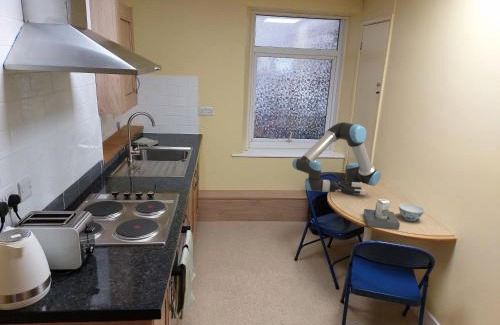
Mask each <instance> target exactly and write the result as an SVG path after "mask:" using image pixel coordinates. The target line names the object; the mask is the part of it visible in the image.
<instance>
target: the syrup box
mask: <svg viewBox="0 0 500 325" xmlns="http://www.w3.org/2000/svg"><path fill="white" fill-rule="evenodd" d="M375 204H376V205H375V209H374V210H375V215H374V216H375V218H381V219H388V213H389V211H390V206H391V201H389V200H388V199H386V198H379V199H376V203H375Z"/></svg>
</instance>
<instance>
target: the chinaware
mask: <svg viewBox="0 0 500 325" xmlns="http://www.w3.org/2000/svg"><path fill="white" fill-rule="evenodd" d="M398 210H399V213H400V215H401V216H403V219H405V221H410V222H414V221H416V220H417V219H419V218H420V217H422V216H423V214H424V213H425V209H424V207H422V206H420V205H417V204H414V203H408V202H407V203H405V202H404V203H400V204H398Z"/></svg>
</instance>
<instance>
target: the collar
mask: <svg viewBox="0 0 500 325" xmlns="http://www.w3.org/2000/svg"><path fill="white" fill-rule="evenodd" d="M374 215H375V209H368V208H364V210H363V217H364V220H365V222H366V225H367V226H368V227H371V228H381V229H392V230H399V229H400V225H401V223H400V221H399V219H398V217H397V216H396V215H395V213H394V212H393V211H390V210H389V213H388V219H381V218H375V216H374Z"/></svg>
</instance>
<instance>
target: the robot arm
mask: <svg viewBox="0 0 500 325" xmlns="http://www.w3.org/2000/svg"><path fill="white" fill-rule="evenodd" d="M366 139H367V130H366V128H365V127H364V126H363V125H361V124H355V123H349V122H345V121H344V122H338V123H335V124H334V125H332V126H331V127H328V129H327V130H326V131H325V134H324V135H323V136H321V137H320V139H319V140H317V141H316V142H315V143H314V145H313V146H311V147H310V149H308V150H306V152H305V153H304V154H303V155H302V156H301V157H300V158H299V157H296V158H294V159H293V161H292V164H291V165H292V167H293V169H295V170H296V171H300V172H303V173H305V174H307V175H308V177H307V178H305V179H304V189H305V190H306V191H311V192H312V191H313V192H323V193H325V192H329V193H336V191H337V193H342V194H347V195H350V196H360V195H361V196H362V195H363V196H365V195H366V190H365V189H362V187H363V184H364V185H367V186H372V187H374V186H376V185H377V184H379V182H380V180H381V177H382V176H381V171H379V170H376V167H375V166H374V164H372V163H371V160H370V156H369V155H368V151H367V149H366V145H365V140H366ZM338 140H343V141H346V144H347V145H348V146H349V147H350V148H351V150H352V152H353V155H354V157H355V160H356V162H350V163H348V164H346V168H345V179H344V180H343V181H336V180H334V179H333V180H329V179H321V178H322V177H321V176H322V162H321V161H320V160H316V159H317V158H318V157H319V156H320V155H321V154H322V153H323V152H324V151H325V150H327V149H328V148H329V147H330V146H331V145H332V144H333V143H336V142H337V141H338Z"/></svg>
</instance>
